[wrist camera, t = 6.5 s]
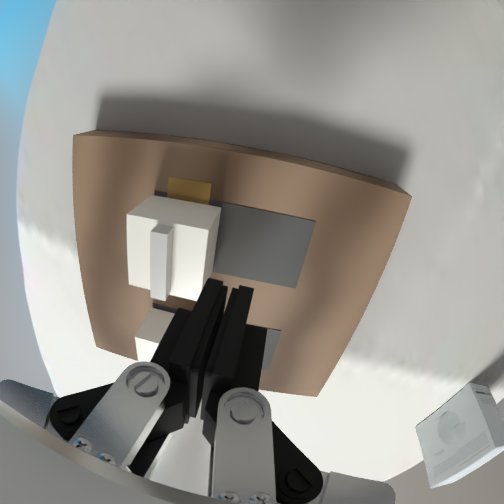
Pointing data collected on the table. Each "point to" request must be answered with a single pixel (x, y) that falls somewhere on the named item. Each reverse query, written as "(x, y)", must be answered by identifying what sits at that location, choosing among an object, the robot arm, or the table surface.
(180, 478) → the drinking glass
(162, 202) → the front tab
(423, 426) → the skincare box
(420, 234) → the table surface
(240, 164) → the switch board
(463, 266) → the table surface
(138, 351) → the tab
